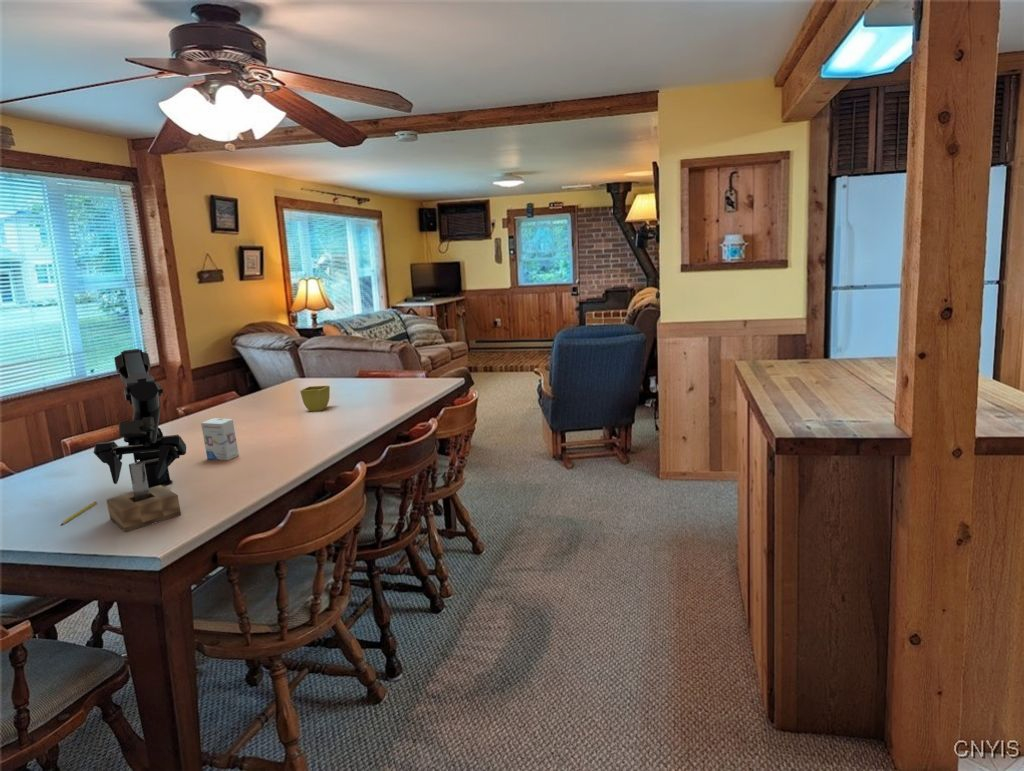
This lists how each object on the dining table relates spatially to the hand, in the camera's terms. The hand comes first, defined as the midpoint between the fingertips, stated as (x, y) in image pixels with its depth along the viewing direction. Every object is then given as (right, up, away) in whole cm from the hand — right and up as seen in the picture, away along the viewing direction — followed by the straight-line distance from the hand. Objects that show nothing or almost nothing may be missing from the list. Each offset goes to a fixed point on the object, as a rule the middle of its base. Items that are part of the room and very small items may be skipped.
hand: (136, 480), depth 152 cm
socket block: (0, -9, +3) cm, 10 cm away
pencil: (-19, -10, +8) cm, 23 cm away
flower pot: (+10, +12, +109) cm, 110 cm away
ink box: (-2, 0, +50) cm, 50 cm away
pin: (0, -8, +3) cm, 9 cm away
